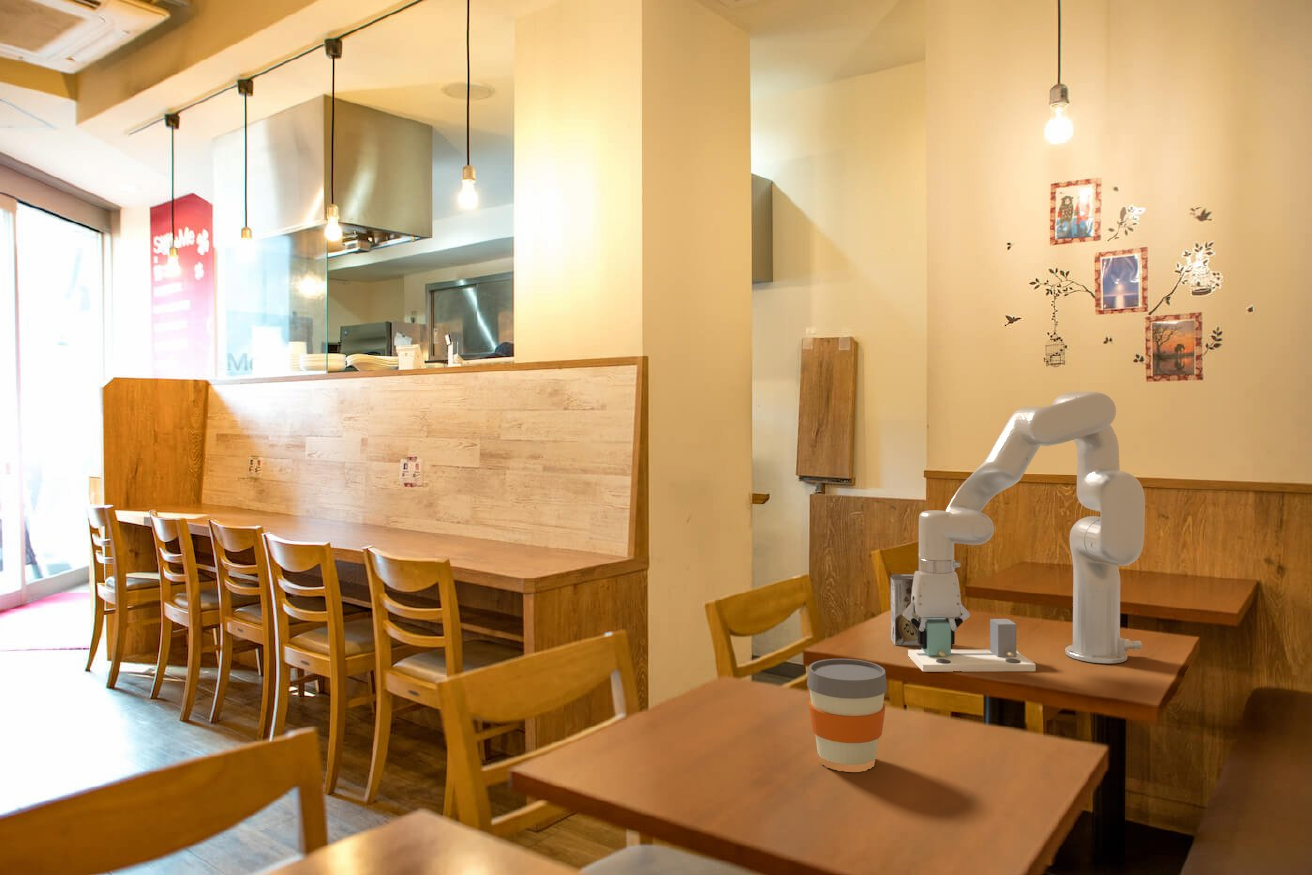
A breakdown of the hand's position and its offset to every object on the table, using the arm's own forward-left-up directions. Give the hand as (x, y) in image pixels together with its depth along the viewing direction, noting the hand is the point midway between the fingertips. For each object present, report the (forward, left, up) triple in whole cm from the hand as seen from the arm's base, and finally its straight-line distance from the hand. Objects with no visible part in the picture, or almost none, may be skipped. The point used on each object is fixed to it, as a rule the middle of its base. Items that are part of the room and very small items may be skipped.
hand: (936, 646), depth 202 cm
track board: (-7, +2, -3) cm, 8 cm away
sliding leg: (0, +1, -1) cm, 2 cm away
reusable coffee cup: (+31, +57, -3) cm, 65 cm away
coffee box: (+1, -16, -4) cm, 16 cm away
